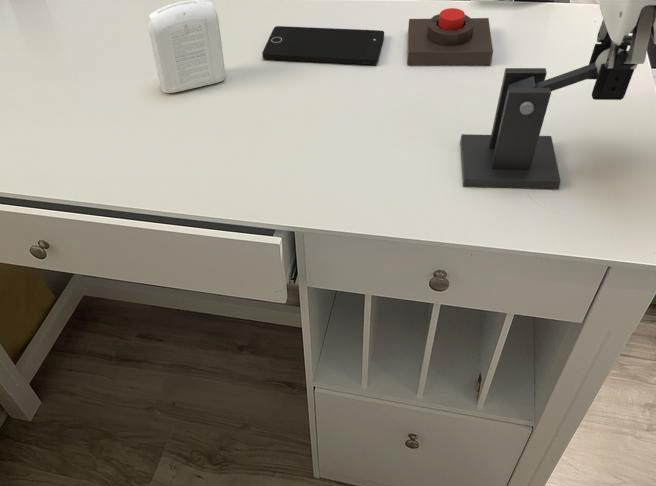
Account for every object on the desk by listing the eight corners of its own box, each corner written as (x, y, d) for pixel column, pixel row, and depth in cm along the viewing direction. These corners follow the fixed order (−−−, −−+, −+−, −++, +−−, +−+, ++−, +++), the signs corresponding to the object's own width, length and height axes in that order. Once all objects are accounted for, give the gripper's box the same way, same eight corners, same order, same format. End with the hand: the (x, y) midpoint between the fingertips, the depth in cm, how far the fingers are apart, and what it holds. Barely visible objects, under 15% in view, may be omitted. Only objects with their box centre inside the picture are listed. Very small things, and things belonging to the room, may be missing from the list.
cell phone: (274, 31, 110) (274, 25, 109) (384, 35, 106) (385, 30, 105) (261, 59, 104) (261, 53, 104) (376, 65, 100) (377, 59, 99)
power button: (462, 19, 100) (464, 7, 99) (463, 31, 98) (465, 19, 96) (438, 19, 100) (439, 8, 99) (438, 31, 98) (439, 20, 97)
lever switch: (627, 62, 72) (623, 37, 70) (633, 78, 70) (629, 53, 68) (513, 101, 78) (506, 79, 76) (516, 117, 76) (509, 95, 74)
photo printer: (222, 68, 104) (211, -11, 95) (229, 82, 101) (218, 2, 92) (158, 83, 103) (140, 5, 93) (163, 98, 100) (146, 18, 91)
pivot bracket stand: (549, 143, 85) (574, 58, 76) (558, 189, 79) (586, 103, 70) (460, 141, 87) (474, 58, 78) (462, 186, 81) (478, 102, 72)
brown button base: (486, 31, 104) (490, 6, 101) (490, 65, 98) (495, 40, 95) (407, 31, 106) (410, 7, 103) (407, 65, 100) (409, 40, 97)
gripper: (740, -57, 54) (656, 133, 68) (688, -129, 64) (625, 49, 78) (640, -54, 55) (578, 132, 69) (605, -125, 65) (557, 49, 79)
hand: (603, 86), depth 73 cm, fingers closed on lever switch, 3 cm apart
